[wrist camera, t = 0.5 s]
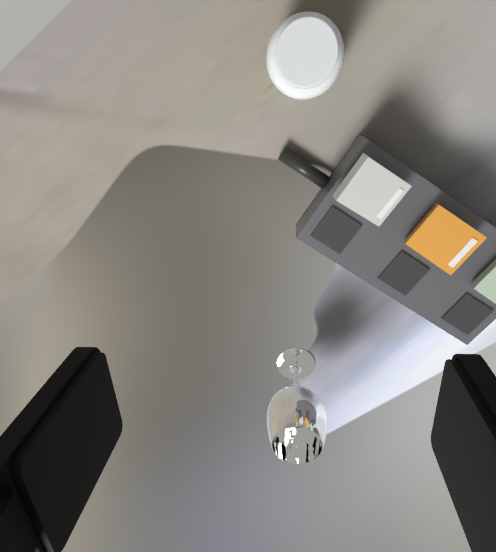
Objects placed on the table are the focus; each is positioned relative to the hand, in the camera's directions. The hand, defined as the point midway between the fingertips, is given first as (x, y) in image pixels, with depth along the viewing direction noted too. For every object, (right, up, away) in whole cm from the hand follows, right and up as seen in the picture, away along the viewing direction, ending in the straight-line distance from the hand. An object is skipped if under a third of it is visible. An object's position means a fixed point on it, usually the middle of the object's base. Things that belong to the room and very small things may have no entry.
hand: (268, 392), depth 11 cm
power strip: (+13, +8, +27) cm, 32 cm away
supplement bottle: (+4, +21, +23) cm, 31 cm away
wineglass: (+5, -7, +36) cm, 37 cm away
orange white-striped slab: (+16, +6, +22) cm, 28 cm away
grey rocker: (+9, +10, +21) cm, 25 cm away
